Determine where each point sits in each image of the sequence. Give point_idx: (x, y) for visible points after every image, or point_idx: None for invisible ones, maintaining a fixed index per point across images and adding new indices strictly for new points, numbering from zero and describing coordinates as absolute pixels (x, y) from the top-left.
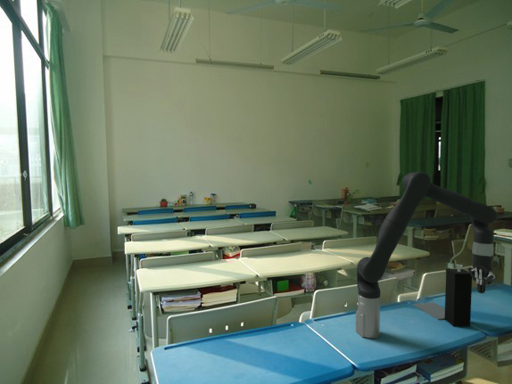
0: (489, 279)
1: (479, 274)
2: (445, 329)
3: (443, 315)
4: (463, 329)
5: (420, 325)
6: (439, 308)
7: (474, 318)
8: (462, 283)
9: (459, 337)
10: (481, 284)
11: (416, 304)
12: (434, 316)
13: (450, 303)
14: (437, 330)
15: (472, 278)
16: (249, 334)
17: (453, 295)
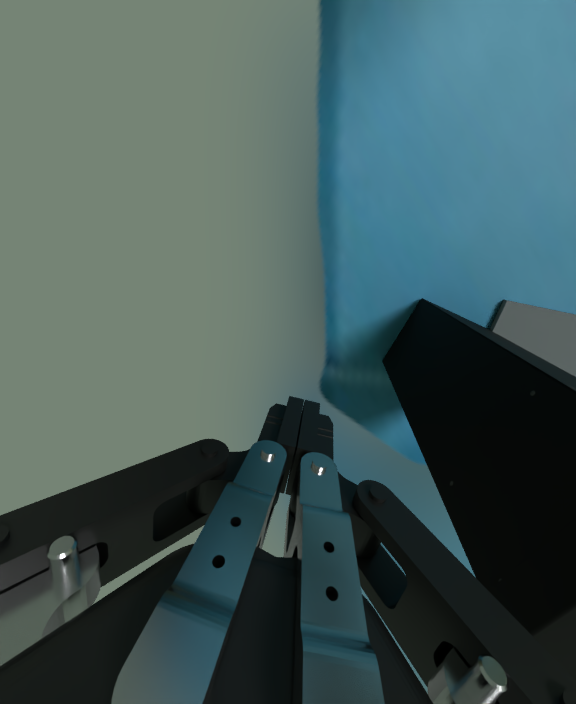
0: (72, 495)
1: (247, 567)
2: (424, 236)
3: None
4: (381, 313)
5: (532, 144)
6: None
7: None
8: (515, 460)
9: (343, 224)
10: (259, 444)
11: None
12: (537, 307)
13: (499, 339)
14: (440, 186)
15: (407, 509)
16: None
17: (508, 348)
